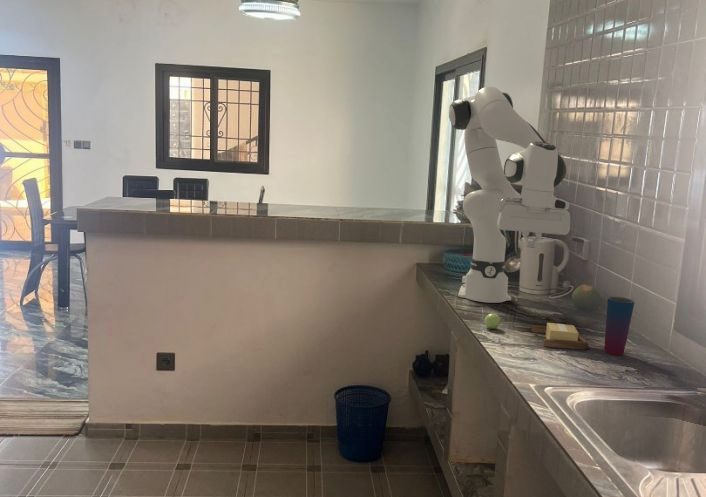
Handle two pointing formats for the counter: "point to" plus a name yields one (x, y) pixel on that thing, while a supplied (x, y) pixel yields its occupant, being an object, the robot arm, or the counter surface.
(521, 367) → the counter surface
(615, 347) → the cup
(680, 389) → the counter surface
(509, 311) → the counter surface
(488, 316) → the lime
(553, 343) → the display bay
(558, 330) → the carton
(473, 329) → the counter surface
